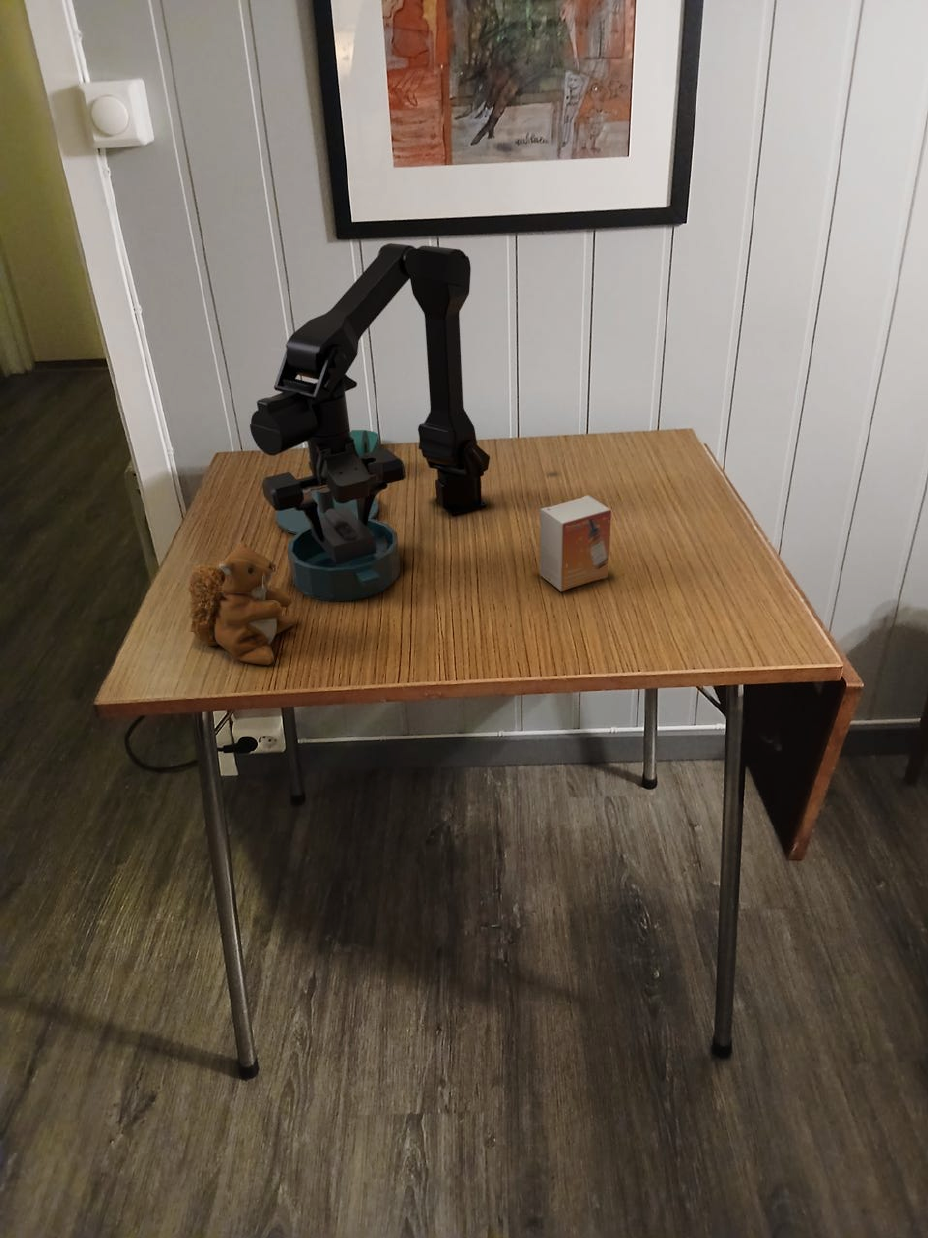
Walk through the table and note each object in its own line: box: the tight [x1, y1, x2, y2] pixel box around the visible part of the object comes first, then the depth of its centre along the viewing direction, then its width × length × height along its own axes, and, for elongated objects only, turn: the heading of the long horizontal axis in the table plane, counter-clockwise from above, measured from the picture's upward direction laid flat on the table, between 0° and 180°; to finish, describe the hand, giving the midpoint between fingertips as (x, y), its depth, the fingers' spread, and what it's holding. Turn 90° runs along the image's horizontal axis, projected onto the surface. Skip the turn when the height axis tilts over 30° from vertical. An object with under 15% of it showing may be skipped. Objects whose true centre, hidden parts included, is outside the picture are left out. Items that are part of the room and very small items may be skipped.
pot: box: [286, 518, 401, 602], centre depth 132 cm, size 15×21×5 cm
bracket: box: [350, 429, 381, 457], centre depth 165 cm, size 18×7×8 cm, turn 174°
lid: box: [275, 487, 379, 535], centre depth 148 cm, size 16×16×5 cm
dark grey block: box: [310, 508, 377, 564], centre depth 130 cm, size 6×10×4 cm, turn 27°
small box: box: [539, 494, 612, 592], centre depth 127 cm, size 8×6×10 cm
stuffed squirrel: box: [188, 541, 295, 666], centre depth 117 cm, size 10×14×13 cm
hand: (342, 534), depth 130 cm, fingers closed on dark grey block, 6 cm apart
